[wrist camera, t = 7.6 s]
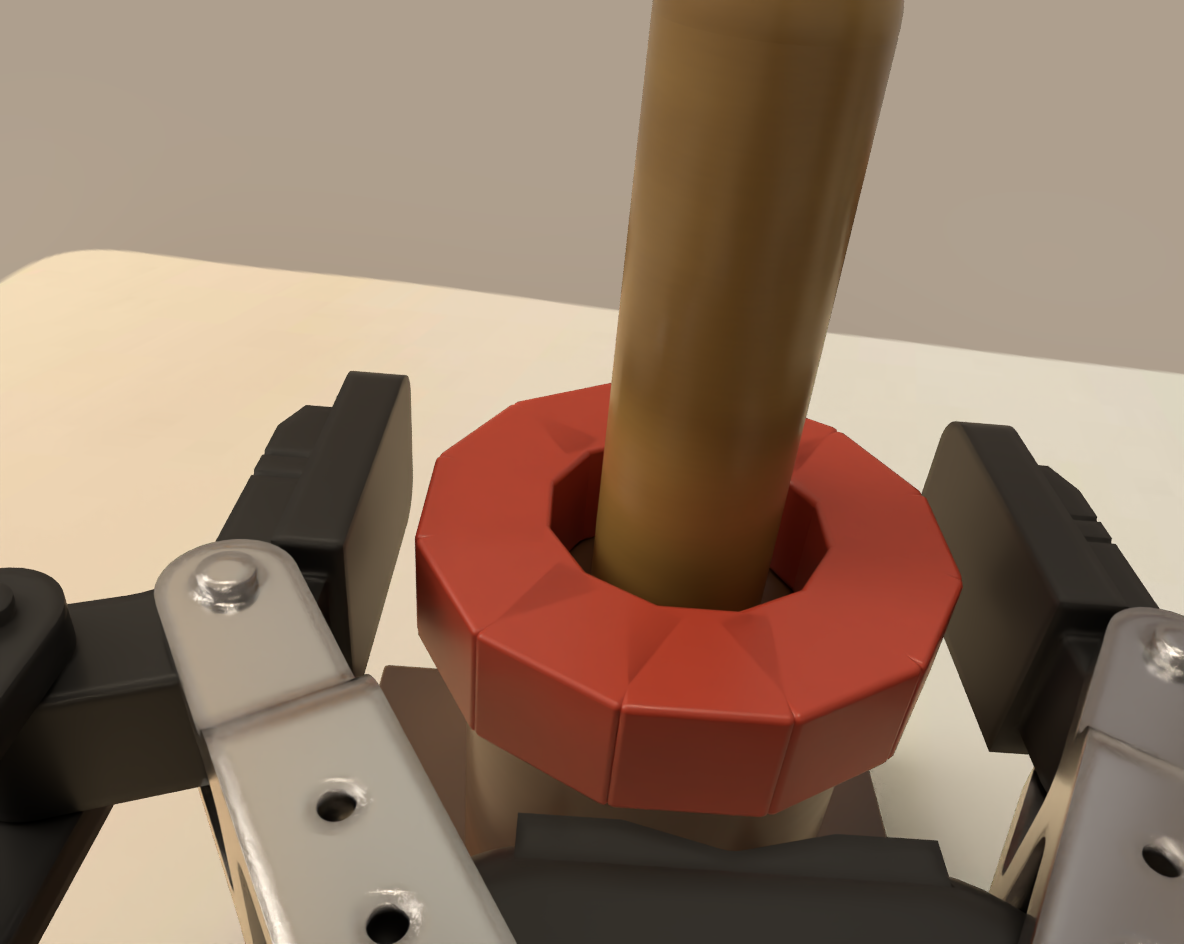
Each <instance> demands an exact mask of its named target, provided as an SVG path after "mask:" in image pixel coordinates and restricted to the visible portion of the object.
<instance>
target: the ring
mask: <svg viewBox="0 0 1184 944" xmlns="http://www.w3.org/2000/svg"><path fill="white" fill-rule="evenodd" d="M610 392H611V383H608V384H603V385H598V386H594V387H589V388H584V389H579V390H574V391H569V392H564V393H559V394H554V395H549V396H544V397H539V398H534V399H529V400H524V401H519V402H517V403H515V405H511V406H509V407H508V408H506V409H505V410H503V411H502V412H501V413H499V414H498V415H496V416H495V417H493V418H492V419H491V420H489V421H488V422H486V423H485V424H483V425H482V426H480V427H479V428H478V429H476V430H475V431H473V432H472V433H470V434H469V435H468V436H466V437H465V438H463V439H462V440H460V441H459V442H458V443H456V444H455V445H453V446H452V447H450V448H449V449H448V450H446V451H445V452H443V453H442V454H441V456H440V457H438V458H437V460H436V462H435V466H434V469H433V473H432V477H431V480H430V484H429V488H428V492H427V495H426V499H425V503H424V506H423V510H422V514H421V518H420V521H419V525H418V529H417V532H416V536H415V558H416V598H417V628H418V635H419V636H420V638H421V640H422V642H423V644H424V645H425V647H426V649H427V651H428V653H429V654H430V656H431V658H432V660H433V662H434V663H435V665H436V667H437V669H438V671H439V672H440V674H441V676H442V678H443V680H444V681H445V683H446V685H447V687H448V689H449V690H450V692H451V694H452V696H453V698H454V699H455V701H456V703H457V705H458V707H459V708H460V710H461V712H462V714H463V716H464V717H465V719H466V721H467V723H468V725H469V726H470V728H471V729H472V730H475V732H476V734H477V735H478V736H480V737H482V738H483V739H485V740H487V741H489V742H491V743H492V744H494V745H496V746H498V747H499V748H501V749H503V750H505V751H507V752H508V753H510V754H512V755H514V756H515V757H517V758H519V759H521V760H523V761H524V762H526V763H528V764H530V765H531V766H533V767H535V768H537V769H539V770H540V771H542V772H544V773H546V774H547V775H549V776H551V777H553V778H555V779H556V780H558V781H560V782H562V783H563V784H565V785H567V786H569V787H571V788H572V789H574V790H576V791H578V792H579V793H581V794H583V795H585V796H587V797H588V798H590V799H592V800H594V801H595V802H597V803H599V804H602V805H605V804H606V803H608V805H609V806H612V807H617V808H632V809H647V810H662V811H676V812H691V813H706V814H721V815H735V816H750V817H763V816H766V815H767V814H769V815H772V814H776V813H778V812H780V811H783V810H785V809H787V808H789V807H791V806H793V805H795V804H798V803H800V802H802V801H804V800H806V799H808V798H810V797H813V796H815V795H817V794H819V793H821V792H823V791H825V790H827V789H830V788H832V787H834V786H836V785H838V784H840V783H842V782H845V781H847V780H849V779H851V778H853V777H855V776H857V775H860V774H862V773H864V772H866V771H868V770H870V769H872V768H875V767H877V766H879V765H881V764H883V763H884V762H886V760H887V759H889V758H890V757H892V756H893V755H894V753H895V750H896V748H897V746H898V743H899V741H900V739H901V737H902V734H903V732H904V730H905V727H906V725H907V723H908V720H909V718H910V716H911V714H912V711H913V709H914V707H915V704H916V702H917V700H918V697H919V695H920V693H921V691H922V688H923V686H924V684H925V681H926V679H927V677H928V674H929V672H930V670H931V667H932V665H933V662H934V660H935V657H936V654H937V652H938V649H939V647H940V644H941V642H942V639H943V637H944V634H945V632H946V629H947V627H948V624H949V622H950V619H951V617H952V614H953V611H954V609H955V606H956V604H957V601H958V599H959V596H960V594H961V591H962V589H963V585H962V578H961V574H960V572H959V569H958V567H957V565H956V563H955V561H954V558H953V556H952V554H951V552H950V549H949V547H948V545H947V543H946V541H945V538H944V536H943V534H942V532H941V529H940V527H939V525H938V523H937V521H936V518H935V516H934V514H933V512H932V509H931V507H930V505H929V503H928V501H927V498H925V497H924V496H922V495H921V493H920V491H919V490H917V489H916V488H915V487H913V486H912V485H911V484H909V483H908V482H907V481H905V480H904V479H903V478H902V477H900V476H899V475H898V474H896V473H895V472H894V471H892V470H891V469H890V468H888V467H887V466H886V465H884V464H883V463H882V462H880V461H879V460H878V459H876V458H875V457H874V456H872V455H871V454H870V453H869V452H867V451H866V450H865V449H863V448H862V447H861V446H859V445H858V444H857V443H855V442H854V441H853V440H851V439H850V438H849V437H847V436H846V435H845V434H843V433H840V432H837V430H836V429H835V428H833V427H830V426H828V425H825V424H822V423H819V422H816V421H813V420H810V419H808V418H806V420H805V424H804V428H803V432H802V436H801V440H800V444H799V448H798V452H797V457H796V461H795V465H794V469H793V473H792V477H791V481H790V485H789V490H788V494H787V498H786V502H785V506H784V510H783V514H782V518H781V522H780V527H779V531H778V535H777V539H776V543H775V547H774V551H773V555H772V560H771V564H770V569H771V570H772V571H773V572H774V573H775V574H776V575H778V576H779V577H780V578H781V579H782V580H783V581H784V582H785V583H786V584H787V585H788V586H789V587H790V588H791V589H792V590H793V591H794V593H792V594H789V595H786V596H783V597H780V598H778V599H775V600H772V601H769V602H766V603H763V604H760V605H757V606H754V607H751V608H749V609H746V610H743V611H740V612H737V611H724V610H710V609H697V608H684V607H670V606H657V605H655V604H653V603H651V602H649V601H647V600H644V599H642V598H640V597H638V596H636V595H633V594H631V593H629V592H627V591H625V590H623V589H620V588H618V587H616V586H614V585H612V584H609V583H607V582H605V581H603V580H601V579H599V578H596V577H594V576H592V575H590V574H588V573H586V572H585V571H584V570H583V569H582V568H581V566H580V565H579V564H578V563H577V561H576V560H575V559H574V558H573V556H572V555H571V554H570V552H569V551H570V550H571V549H572V548H573V547H574V546H575V545H576V544H577V543H578V542H579V541H581V540H584V539H588V538H591V537H595V530H596V521H597V512H598V503H599V493H600V484H601V475H602V466H603V456H604V447H605V438H606V429H607V419H608V410H609V401H610Z"/></svg>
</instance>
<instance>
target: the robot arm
mask: <svg viewBox="0 0 1184 944" xmlns="http://www.w3.org/2000/svg"><path fill="white" fill-rule="evenodd" d="M412 485H413V464H412V424H411V390H410V381H409V378H408V376H407V375H395V374H383V373H371V372H359V371H350V372H349V373H348V375H347V377H346V379H345V381H344V383H343V385H342V387H341V389H340V392H339V394H338V396H337V398H336V400H335V402H334V405H333V407H323V406H311V405H305V406H304V407H303V408H301V409H300V410H298V411H297V412H296V413H294V414H293V415H292V416H290V417H289V418H287V419H286V420H285V421H283V422H282V423H280V424H279V425H278V426H277V428H276V430H275V432H274V434H273V436H272V437H271V439H270V441H269V443H268V445H267V447H266V449H265V455H262V456H261V458H260V460H259V462H258V463H257V465H256V467H255V469H254V475H251V477H250V478H249V480H248V482H247V484H246V486H245V488H244V490H243V491H242V493H241V495H240V497H239V499H238V501H237V503H236V504H235V506H234V508H233V510H232V512H231V514H230V516H229V517H228V519H227V521H226V523H225V525H224V527H223V529H222V530H221V532H220V534H219V536H218V538H217V540H216V542H212V543H209V544H206V545H202V546H199V547H197V548H195V549H192V550H190V551H188V552H186V553H184V554H183V555H181V556H179V557H178V558H177V559H175V560H174V561H173V562H171V563H170V564H169V565H168V566H167V567H166V568H165V569H164V570H163V572H162V573H161V574H160V576H159V577H158V579H157V582H156V584H155V589H153V590H149V591H146V592H142V593H138V594H133V595H127V596H121V597H114V598H107V599H100V600H93V601H86V602H80V603H73V604H67V603H66V599H65V596H64V593H63V590H62V588H61V586H60V585H59V583H58V582H57V581H55V580H54V579H53V578H52V577H50V576H48V575H46V574H44V573H42V572H39V571H35V570H31V569H25V568H0V944H38V943H39V941H40V940H41V938H42V936H43V934H44V932H45V930H46V929H47V927H48V925H49V923H50V921H51V919H52V918H53V916H54V914H55V912H56V910H57V908H58V907H59V905H60V903H61V901H62V899H63V897H64V895H65V894H66V892H67V890H68V888H69V886H70V884H71V883H72V881H73V879H74V877H75V875H76V873H77V872H78V870H79V868H80V866H81V864H82V862H83V861H84V859H85V857H86V855H87V853H88V851H89V850H90V848H91V846H92V844H93V842H94V840H95V839H96V837H97V835H98V833H99V831H100V829H101V827H102V826H103V824H104V822H105V820H106V818H107V816H108V815H109V813H110V811H111V809H112V807H113V805H114V804H119V803H123V802H128V801H133V800H138V799H143V798H148V797H153V796H157V795H162V794H167V793H172V792H177V791H182V790H186V789H191V788H196V787H198V790H199V793H200V796H201V799H202V803H203V806H204V809H205V812H206V815H207V819H208V822H209V825H210V828H211V832H212V835H213V838H214V841H215V845H216V848H217V851H218V854H219V857H220V861H221V864H222V867H223V870H224V874H225V877H226V880H227V883H228V887H229V890H230V893H231V896H232V899H233V903H234V906H235V909H236V912H237V916H238V919H239V923H240V926H241V930H242V933H243V937H244V941H245V944H1184V616H1183V615H1180V614H1177V613H1174V612H1171V611H1167V610H1163V609H1159V607H1158V606H1157V604H1156V603H1155V601H1154V600H1153V598H1152V597H1151V595H1150V594H1149V592H1148V591H1147V590H1146V588H1145V587H1144V585H1143V584H1142V582H1141V581H1140V579H1139V578H1138V576H1137V575H1136V573H1135V572H1134V570H1133V569H1132V567H1131V566H1130V564H1129V563H1128V561H1127V560H1126V559H1125V557H1124V556H1123V554H1122V553H1121V551H1120V550H1119V548H1118V547H1117V545H1116V544H1111V539H1112V538H1111V536H1110V535H1109V533H1108V532H1107V531H1106V529H1105V528H1104V526H1103V525H1102V523H1101V522H1097V516H1096V514H1095V513H1094V511H1093V510H1092V508H1091V507H1090V505H1089V504H1088V503H1087V501H1086V500H1085V498H1084V497H1083V495H1082V494H1081V492H1080V491H1079V490H1078V489H1077V488H1076V487H1074V486H1073V485H1072V484H1070V483H1069V482H1068V481H1067V480H1065V479H1064V478H1063V477H1061V476H1060V475H1059V474H1058V473H1056V472H1055V471H1054V470H1052V469H1051V468H1050V467H1049V466H1042V465H1038V464H1037V463H1036V461H1035V459H1034V458H1033V456H1032V455H1031V453H1030V452H1029V450H1028V449H1027V447H1026V445H1025V444H1024V442H1023V441H1022V439H1021V438H1020V436H1019V435H1018V433H1017V432H1016V430H1015V429H1014V428H1013V427H1011V426H1006V425H994V424H981V423H969V422H957V421H955V422H951V423H950V424H949V425H948V426H947V427H946V428H945V430H944V432H943V434H942V436H941V438H940V441H939V444H938V447H937V450H936V453H935V456H934V459H933V462H932V465H931V468H930V471H929V474H928V477H927V479H926V482H925V485H924V488H923V491H922V494H921V495H922V496H924V497H925V498H927V501H928V503H929V505H930V507H931V509H932V512H933V514H934V516H935V518H936V521H937V523H938V525H939V527H940V529H941V532H942V534H943V536H944V538H945V541H946V543H947V545H948V547H949V549H950V552H951V554H952V556H953V558H954V561H955V563H956V565H957V567H958V569H959V572H960V574H961V578H962V585H963V589H962V591H961V594H960V596H959V599H958V601H957V604H956V606H955V609H954V611H953V614H952V617H951V619H950V622H949V624H948V627H947V629H946V632H945V634H944V639H945V641H946V644H947V646H948V649H949V651H950V654H951V656H952V659H953V661H954V664H955V667H956V669H957V672H958V674H959V677H960V679H961V682H962V684H963V687H964V689H965V692H966V694H967V697H968V699H969V702H970V704H971V707H972V709H973V712H974V714H975V717H976V719H977V722H978V725H979V727H980V730H981V732H982V735H983V737H984V740H985V742H986V745H987V747H988V750H989V752H1000V753H1014V754H1029V756H1030V758H1031V760H1032V763H1033V765H1034V767H1033V769H1032V771H1031V773H1030V775H1029V777H1028V779H1027V781H1026V783H1025V785H1024V787H1023V789H1022V792H1021V795H1020V798H1019V801H1018V804H1017V807H1016V810H1015V813H1014V816H1013V819H1012V823H1011V826H1010V829H1009V832H1008V835H1007V838H1006V841H1005V844H1004V847H1003V850H1002V853H1001V856H1000V859H999V862H998V866H997V869H996V872H995V875H994V878H993V881H992V884H991V887H990V890H989V893H988V892H986V891H985V890H982V889H980V888H977V887H975V886H973V885H970V884H968V883H965V882H963V881H960V880H958V879H955V878H952V877H949V876H948V873H947V869H946V866H945V863H944V860H943V857H942V853H941V850H940V847H939V844H938V841H934V840H919V839H905V838H890V837H875V836H860V835H845V834H832V835H826V836H821V837H815V838H810V839H804V840H798V841H793V842H787V843H782V844H776V845H770V846H765V847H759V848H754V849H748V850H741V851H728V850H724V849H719V848H716V847H713V846H709V845H706V844H703V843H699V842H696V841H693V840H689V839H686V838H682V837H679V836H676V835H672V834H669V833H666V832H662V831H659V830H656V829H652V828H649V827H646V826H642V825H639V824H635V823H632V822H629V821H625V820H622V819H607V818H592V817H577V816H562V815H547V814H532V813H518V818H517V828H516V839H515V845H514V846H508V847H503V848H497V849H493V850H489V851H486V852H483V853H479V854H476V855H473V856H470V855H469V853H468V851H467V849H466V847H465V845H464V843H463V841H462V840H461V838H460V836H459V834H458V832H457V830H456V828H455V826H454V825H453V823H452V821H451V819H450V817H449V815H448V813H447V811H446V810H445V808H444V806H443V804H442V802H441V800H440V798H439V796H438V794H437V793H436V791H435V789H434V787H433V785H432V783H431V781H430V779H429V778H428V776H427V774H426V772H425V770H424V768H423V766H422V764H421V763H420V761H419V759H418V757H417V755H416V753H415V751H414V749H413V747H412V746H411V744H410V742H409V740H408V738H407V736H406V734H405V732H404V731H403V729H402V727H401V725H400V723H399V721H398V719H397V717H396V716H395V714H394V712H393V710H392V708H391V706H390V704H389V702H388V700H387V699H386V697H385V695H384V693H383V691H382V689H381V688H380V686H379V684H378V683H377V682H376V680H375V679H374V678H373V677H372V676H371V675H369V674H365V675H364V673H365V670H366V666H367V663H368V659H369V656H370V652H371V649H372V645H373V642H374V638H375V635H376V631H377V628H378V624H379V621H380V617H381V614H382V610H383V607H384V603H385V599H386V596H387V592H388V589H389V585H390V582H391V578H392V575H393V571H394V568H395V564H396V561H397V557H398V554H399V550H400V547H401V543H402V540H403V536H404V533H405V529H406V526H407V522H408V518H409V513H410V507H411V498H412Z"/></svg>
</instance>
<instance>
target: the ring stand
mask: <svg viewBox="0 0 1184 944" xmlns="http://www.w3.org/2000/svg"><path fill="white" fill-rule="evenodd" d="M903 9H904V0H653V5H652V12H651V23H650V31H649V40H648V50H647V59H646V68H645V77H644V86H643V96H642V105H641V114H640V124H639V133H638V143H637V151H636V160H635V170H634V180H633V189H632V198H631V208H630V216H629V225H628V234H627V244H626V253H625V262H624V271H623V281H622V290H621V299H620V308H619V318H618V327H617V336H616V345H615V355H614V364H613V373H612V382H611V392H610V401H609V410H608V419H607V429H606V438H605V447H604V456H603V466H602V475H601V484H600V493H599V503H598V512H597V521H596V530H595V537H591V538H588V539H584V540H581V541H579V542H578V543H577V544H576V545H575V546H574V547H573V548H572V549H571V550H570V551H569V552H570V554H571V555H572V556H573V558H574V559H575V560H576V561H577V563H578V564H579V565H580V566H581V568H582V569H583V570H584V571H585V572H586V573H588V574H590V575H592V576H594V577H596V578H599V579H601V580H603V581H605V582H607V583H609V584H612V585H614V586H616V587H618V588H620V589H623V590H625V591H627V592H629V593H631V594H633V595H636V596H638V597H640V598H642V599H644V600H647V601H649V602H651V603H653V604H655V605H657V606H670V607H684V608H697V609H710V610H724V611H737V612H740V611H743V610H746V609H749V608H751V607H754V606H757V605H760V604H763V603H766V602H769V601H772V600H775V599H778V598H780V597H783V596H786V595H789V594H792V593H794V591H793V590H792V589H791V588H790V587H789V586H788V585H787V584H786V583H785V582H784V581H783V580H782V579H781V578H780V577H779V576H778V575H776V574H775V573H774V572H773V571H772V570H771V569H770V564H771V560H772V555H773V551H774V547H775V543H776V539H777V535H778V531H779V527H780V522H781V518H782V514H783V510H784V506H785V502H786V498H787V494H788V490H789V485H790V481H791V477H792V473H793V469H794V465H795V461H796V457H797V452H798V448H799V444H800V440H801V436H802V432H803V428H804V424H805V420H806V415H807V411H808V407H809V403H810V399H811V395H812V391H813V387H814V383H815V378H816V374H817V370H818V366H819V362H820V358H821V354H822V350H823V345H824V341H825V337H826V333H827V329H828V325H829V320H830V317H831V313H832V308H833V304H834V300H835V296H836V292H837V288H838V284H839V280H840V276H841V271H842V267H843V263H844V259H845V255H846V251H847V246H848V243H849V238H850V234H851V230H852V225H853V222H854V218H855V214H856V210H857V206H858V201H859V197H860V193H861V189H862V185H863V181H864V176H865V173H866V169H867V164H868V160H869V156H870V152H871V148H872V144H873V139H874V135H875V131H876V127H877V123H878V118H879V115H880V111H881V107H882V103H883V99H884V94H885V90H886V86H887V82H888V78H889V74H890V70H891V65H892V61H893V57H894V53H895V49H896V45H897V41H898V35H899V32H900V28H901V22H902V17H903ZM379 686H380V688H381V689H382V691H383V693H384V695H385V697H386V699H387V700H388V702H389V704H390V706H391V708H392V710H393V712H394V714H395V716H396V717H397V719H398V721H399V723H400V725H401V727H402V729H403V731H404V732H405V734H406V736H407V738H408V740H409V742H410V744H411V746H412V747H413V749H414V751H415V753H416V755H417V757H418V759H419V761H420V763H421V764H422V766H423V768H424V770H425V772H426V774H427V776H428V778H429V779H430V781H431V783H432V785H433V787H434V789H435V791H436V793H437V794H438V796H439V798H440V800H441V802H442V804H443V806H444V808H445V810H446V811H447V813H448V815H449V817H450V819H451V821H452V823H453V825H454V826H455V828H456V830H457V832H458V834H459V836H460V838H461V840H462V841H463V843H464V845H465V847H466V849H467V851H468V853H469V855H470V856H473V855H476V854H479V853H483V852H486V851H489V850H493V849H497V848H503V847H508V846H514V845H515V839H516V828H517V818H518V813H532V814H547V815H562V816H577V817H592V818H607V819H622V820H625V821H629V822H632V823H635V824H639V825H642V826H646V827H649V828H652V829H656V830H659V831H662V832H666V833H669V834H672V835H676V836H679V837H682V838H686V839H689V840H693V841H696V842H699V843H703V844H706V845H709V846H713V847H716V848H719V849H724V850H728V851H741V850H748V849H754V848H759V847H765V846H770V845H776V844H782V843H787V842H793V841H798V840H804V839H810V838H815V837H821V836H826V835H832V834H845V835H860V836H875V837H887V836H886V832H885V829H884V825H883V821H882V817H881V813H880V810H879V806H878V802H877V798H876V795H875V791H874V787H873V783H872V779H871V776H870V772H869V770H868V771H866V772H864V773H862V774H860V775H857V776H855V777H853V778H851V779H849V780H847V781H845V782H842V783H840V784H838V785H836V786H834V787H832V788H830V789H827V790H825V791H823V792H821V793H819V794H817V795H815V796H813V797H810V798H808V799H806V800H804V801H802V802H800V803H798V804H795V805H793V806H791V807H789V808H787V809H785V810H783V811H780V812H778V813H776V814H772V815H769V814H767V815H766V816H763V817H750V816H735V815H721V814H706V813H691V812H676V811H662V810H647V809H632V808H617V807H612V806H609V805H608V803H606V804H605V805H602V804H599V803H597V802H595V801H594V800H592V799H590V798H588V797H587V796H585V795H583V794H581V793H579V792H578V791H576V790H574V789H572V788H571V787H569V786H567V785H565V784H563V783H562V782H560V781H558V780H556V779H555V778H553V777H551V776H549V775H547V774H546V773H544V772H542V771H540V770H539V769H537V768H535V767H533V766H531V765H530V764H528V763H526V762H524V761H523V760H521V759H519V758H517V757H515V756H514V755H512V754H510V753H508V752H507V751H505V750H503V749H501V748H499V747H498V746H496V745H494V744H492V743H491V742H489V741H487V740H485V739H483V738H482V737H480V736H478V735H477V734H476V732H475V730H472V729H471V728H470V726H469V725H468V723H467V721H466V719H465V717H464V716H463V714H462V712H461V710H460V708H459V707H458V705H457V703H456V701H455V699H454V698H453V696H452V694H451V692H450V690H449V689H448V687H447V685H446V683H445V681H444V680H443V678H442V676H441V674H440V672H439V671H438V669H434V668H420V667H407V666H393V665H388V666H385V668H384V670H383V673H382V677H381V681H380V685H379Z"/></svg>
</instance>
